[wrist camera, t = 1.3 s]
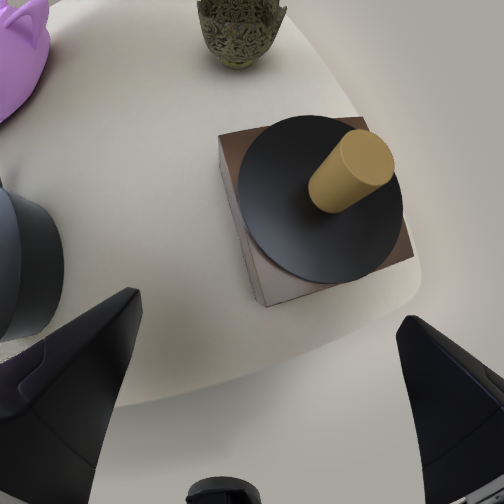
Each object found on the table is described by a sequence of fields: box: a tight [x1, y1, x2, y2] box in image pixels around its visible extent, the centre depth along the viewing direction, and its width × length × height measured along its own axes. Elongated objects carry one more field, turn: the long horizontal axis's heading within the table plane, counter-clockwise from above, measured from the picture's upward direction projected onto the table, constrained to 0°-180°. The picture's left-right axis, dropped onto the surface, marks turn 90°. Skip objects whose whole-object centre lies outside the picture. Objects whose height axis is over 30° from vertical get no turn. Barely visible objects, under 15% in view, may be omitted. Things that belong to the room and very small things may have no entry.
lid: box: [237, 115, 403, 284], centre depth 13 cm, size 11×11×6 cm
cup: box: [197, 0, 287, 69], centre depth 19 cm, size 8×7×8 cm
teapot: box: [0, 0, 50, 123], centre depth 13 cm, size 23×21×15 cm
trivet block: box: [218, 117, 414, 307], centre depth 19 cm, size 11×11×5 cm
